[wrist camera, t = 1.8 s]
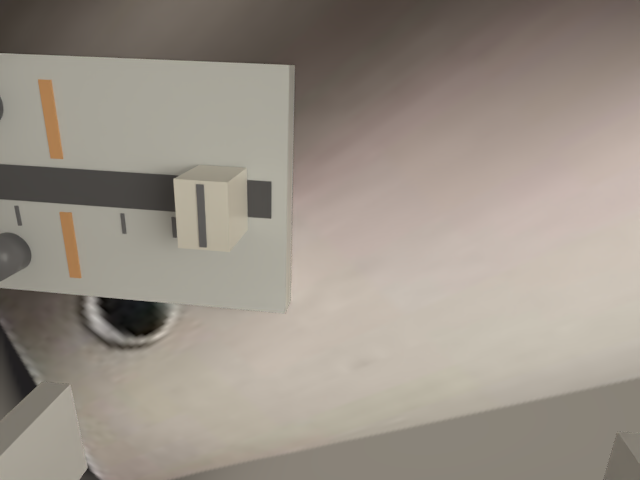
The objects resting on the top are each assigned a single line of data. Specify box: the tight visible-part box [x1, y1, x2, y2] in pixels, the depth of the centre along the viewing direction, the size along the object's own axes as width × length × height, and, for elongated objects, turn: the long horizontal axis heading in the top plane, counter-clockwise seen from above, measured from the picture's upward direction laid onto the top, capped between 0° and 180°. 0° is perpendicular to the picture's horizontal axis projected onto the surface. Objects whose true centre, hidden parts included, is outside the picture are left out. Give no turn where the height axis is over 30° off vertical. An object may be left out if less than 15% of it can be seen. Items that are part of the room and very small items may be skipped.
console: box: [0, 53, 295, 314], centre depth 30 cm, size 16×22×4 cm
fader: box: [173, 165, 248, 252], centre depth 27 cm, size 4×3×4 cm
